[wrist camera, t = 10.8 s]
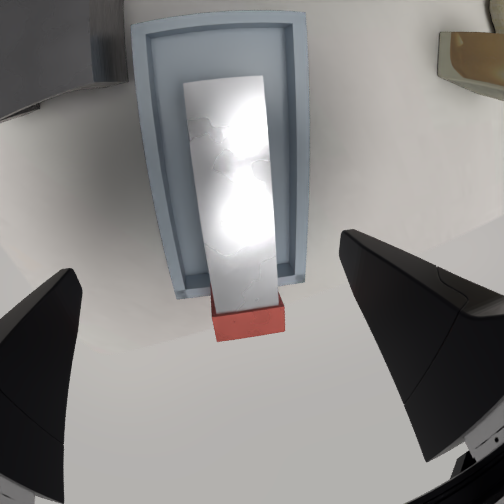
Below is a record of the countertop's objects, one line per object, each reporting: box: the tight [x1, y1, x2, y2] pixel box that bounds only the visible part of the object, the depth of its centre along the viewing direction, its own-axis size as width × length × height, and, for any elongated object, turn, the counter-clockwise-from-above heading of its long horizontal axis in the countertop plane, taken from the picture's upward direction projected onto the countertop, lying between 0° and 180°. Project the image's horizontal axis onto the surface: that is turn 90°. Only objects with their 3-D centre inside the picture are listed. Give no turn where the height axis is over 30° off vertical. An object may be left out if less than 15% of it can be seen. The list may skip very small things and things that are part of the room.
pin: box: [183, 75, 285, 342], centre depth 17 cm, size 4×15×4 cm, turn 3°
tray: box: [131, 10, 310, 299], centre depth 18 cm, size 10×19×2 cm, turn 3°
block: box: [0, 0, 128, 123], centre depth 10 cm, size 8×8×6 cm
